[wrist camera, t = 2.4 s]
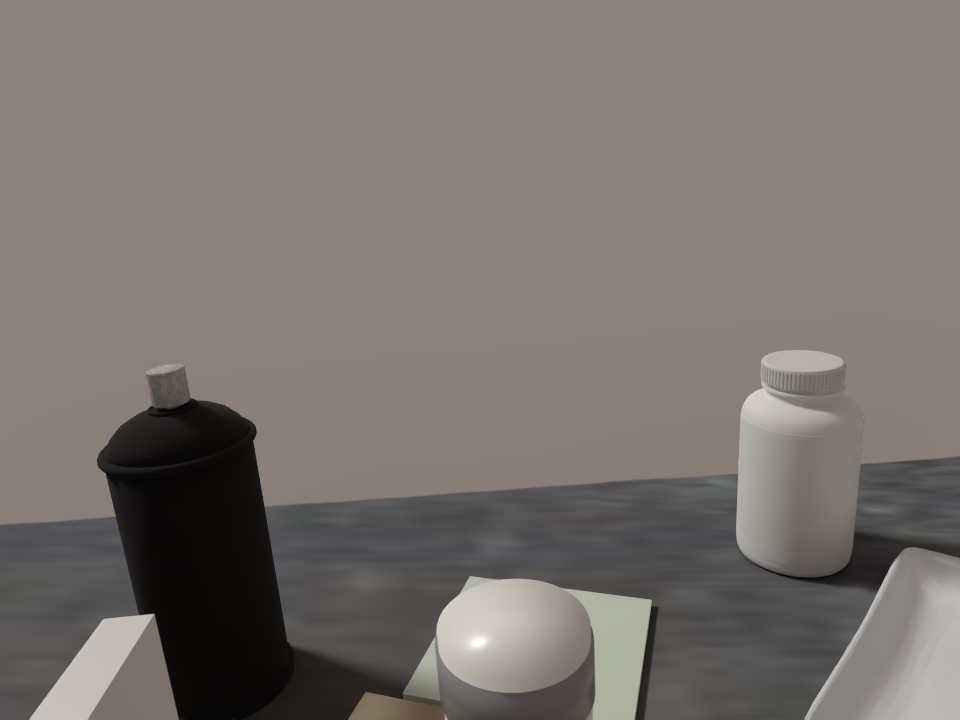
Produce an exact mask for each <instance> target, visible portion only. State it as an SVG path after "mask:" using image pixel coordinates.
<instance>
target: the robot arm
mask: <svg viewBox="0 0 960 720" xmlns="http://www.w3.org/2000/svg"><path fill="white" fill-rule="evenodd" d="M29 720H179V718H178V714H177V710H176V705H175V701H174V697H173V693H172V688H171V684H170V680H169V675H168V671H167V667H166V662H165V658H164V654H163V649H162V645H161V641H160V636H159V632H158V628H157V623H156V619H155V615H154V614H148V615H139V616H129V617H119V618H110V619H103V620H102V622H101V623H100V624H99V626H98V627H97V629H96V630H95V631H94V633H93V634H92V635H91V637H90V638H89V639H88V641H87V642H86V643H85V645H84V646H83V648H82V649H81V650H80V652H79V653H78V654H77V656H76V657H75V658H74V660H73V661H72V662H71V664H70V665H69V666H68V668H67V669H66V671H65V672H64V673H63V675H62V676H61V677H60V679H59V680H58V681H57V683H56V684H55V685H54V687H53V688H52V689H51V691H50V692H49V694H48V695H47V696H46V698H45V699H44V700H43V702H42V703H41V704H40V706H39V707H38V708H37V710H36V711H35V713H34V714H33V715H32V717H31V718H30V719H29Z"/></svg>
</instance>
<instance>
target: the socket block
mask: <svg viewBox="0 0 960 720" xmlns="http://www.w3.org/2000/svg"><path fill="white" fill-rule="evenodd" d="M348 720H445V714H444V712H443V709H442V707H439V706H434V705H429V704H424V703H419V702H414V701H408V700H403V699H398V698H393V697H388V696H383V695H378V694H373V693H368V692H365V694H364V695H363V697H362V699H361V700H360V702H359V703H358V705H357V706H356V708H355V709H354V711H353V712H352V714H351V716H350V717H349V719H348Z"/></svg>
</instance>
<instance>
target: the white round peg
mask: <svg viewBox="0 0 960 720" xmlns="http://www.w3.org/2000/svg"><path fill="white" fill-rule="evenodd" d="M435 652H436V662H437V672H438V682H439V692H440V701H441V706H442V709H443V712H444V714H445V720H593V704H594V701H595V654H594V634H593V630H592V627H591V625H590V619H589V615H588V613H587V611H586V609H585V607H584V606H583V605H582V603H581V602H580V601H579V600H578V599H577V598H576V597H574V596H573V595H572V594H570V593H569V592H567V591H565V590H564V589H561V588H559V587H557V586H555V585H552V584H549V583H545V582H541V581H536V580H528V579H505V580H497V581H492V582H488V583H484V584H481V585H478V586H476V587H473V588H471V589H469V590H467V591H465V592H463V593H462V594H460V595H459V596H457V597H456V598H455V599H453V600H452V601H451V602H450V603H449V604H448V605H447V606H446V607H445V609H444V610H443V612H442V613H441V615H440V617H439V620H438V624H437V634H436V638H435Z"/></svg>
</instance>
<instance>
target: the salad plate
mask: <svg viewBox="0 0 960 720" xmlns="http://www.w3.org/2000/svg"><path fill="white" fill-rule="evenodd" d="M805 720H960V558H957V557H954V556H949V555H946V554H942V553H938V552H934V551H930V550H926V549H921V548H916V547H909V548H906V549H904V550H903V551H902V552H901V553H900V554H899V555H898V556H897V558H896V559H895V561H894V562H893V564H892V565H891V567H890V569H889V571H888V573H887V575H886V577H885V579H884V581H883V583H882V585H881V587H880V589H879V591H878V593H877V595H876V597H875V599H874V601H873V603H872V605H871V607H870V609H869V611H868V613H867V615H866V617H865V619H864V621H863V622H862V624H861V626H860V628H859V629H858V631H857V633H856V634H855V636H854V638H853V639H852V641H851V643H850V644H849V646H848V647H847V649H846V651H845V653H844V654H843V656H842V658H841V659H840V661H839V662H838V664H837V665H836V667H835V668H834V670H833V672H832V673H831V675H830V677H829V678H828V680H827V681H826V683H825V685H824V686H823V688H822V689H821V691H820V692H819V694H818V696H817V697H816V699H815V700H814V702H813V704H812V706H811V708H810V709H809V711H808V713H807V715H806V717H805Z"/></svg>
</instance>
